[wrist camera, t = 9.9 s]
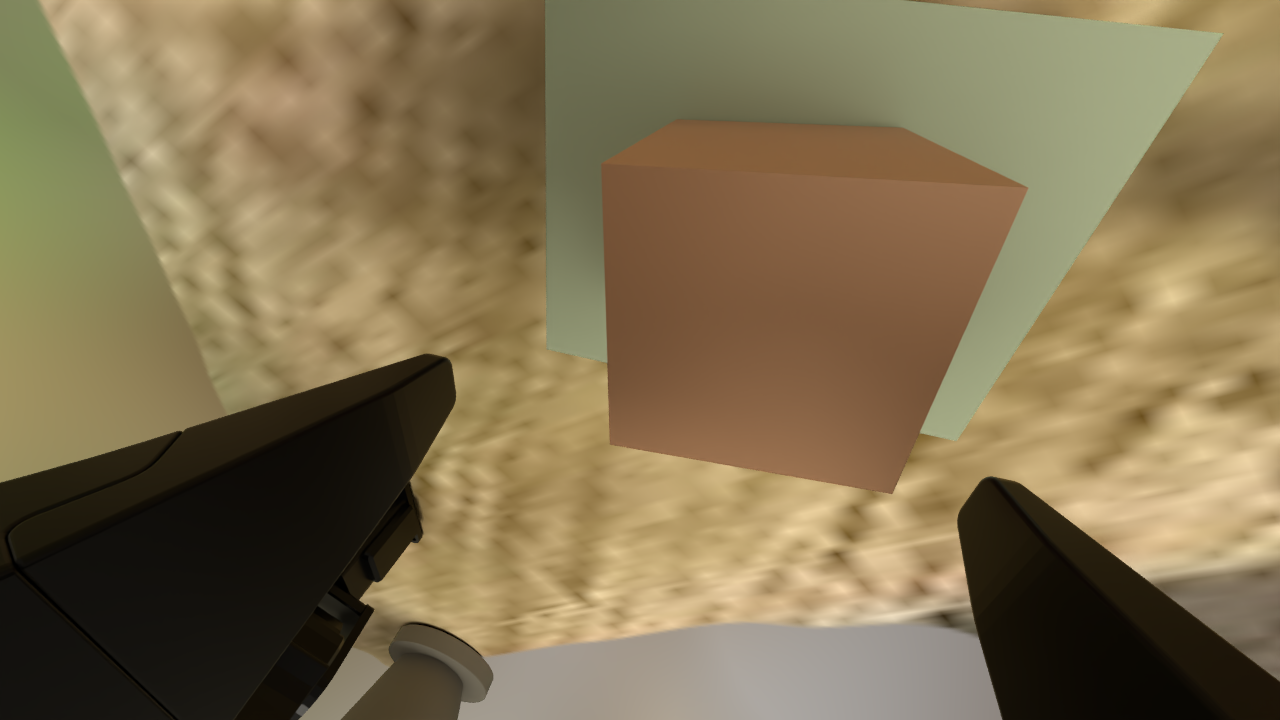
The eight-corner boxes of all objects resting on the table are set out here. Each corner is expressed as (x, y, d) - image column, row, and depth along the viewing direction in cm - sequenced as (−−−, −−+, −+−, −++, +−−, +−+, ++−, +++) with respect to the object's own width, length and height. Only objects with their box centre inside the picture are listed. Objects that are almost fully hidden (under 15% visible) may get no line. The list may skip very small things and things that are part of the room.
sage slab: (577, 310, 18) (546, 349, 16) (588, -17, 13) (544, -38, 10) (928, 384, 16) (956, 441, 14) (1119, 41, 11) (1224, 33, 8)
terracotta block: (667, 308, 14) (610, 444, 9) (676, 119, 11) (600, 164, 6) (845, 328, 13) (892, 493, 8) (903, 127, 10) (1028, 187, 5)
